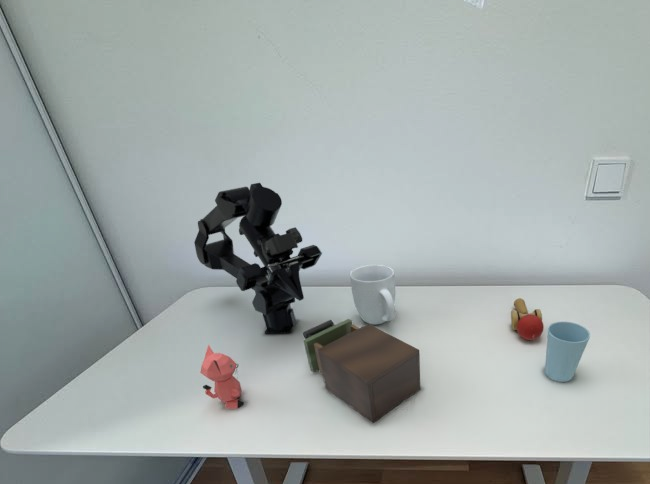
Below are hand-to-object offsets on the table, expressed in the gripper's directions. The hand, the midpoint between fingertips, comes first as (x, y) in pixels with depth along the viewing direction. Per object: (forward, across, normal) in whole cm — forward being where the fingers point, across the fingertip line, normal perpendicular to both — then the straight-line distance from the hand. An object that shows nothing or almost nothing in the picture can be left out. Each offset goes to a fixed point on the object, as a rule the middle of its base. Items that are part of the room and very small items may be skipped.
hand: (301, 299), depth 81 cm
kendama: (+33, +40, -15) cm, 54 cm away
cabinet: (+25, -1, -7) cm, 26 cm away
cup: (+43, +27, -26) cm, 57 cm away
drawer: (+18, -1, -2) cm, 18 cm away
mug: (+11, +19, +6) cm, 23 cm away
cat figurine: (+12, -22, +6) cm, 26 cm away
